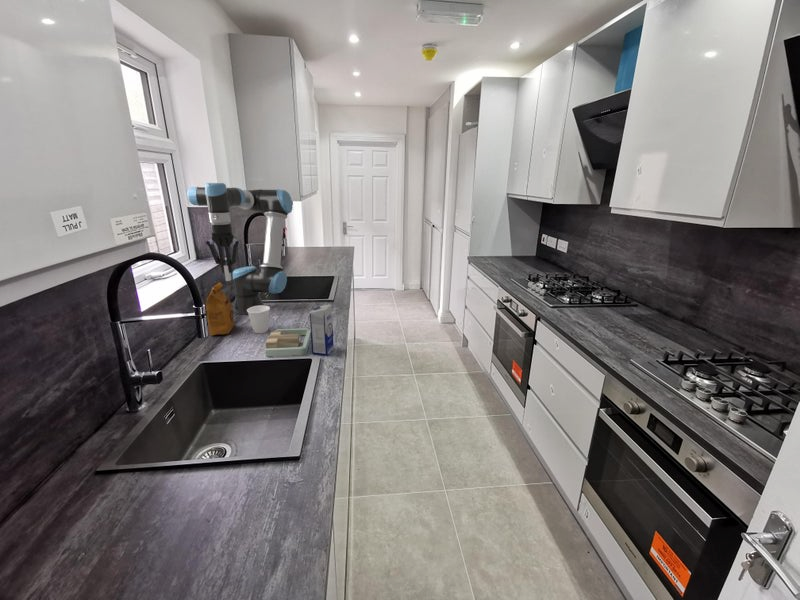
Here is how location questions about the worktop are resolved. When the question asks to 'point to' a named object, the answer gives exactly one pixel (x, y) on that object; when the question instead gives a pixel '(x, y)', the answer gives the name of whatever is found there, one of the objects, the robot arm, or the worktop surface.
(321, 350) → the milk carton
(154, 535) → the worktop surface
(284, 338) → the t block
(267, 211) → the robot arm
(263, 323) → the cup
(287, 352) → the dock bay
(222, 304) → the coffee package
